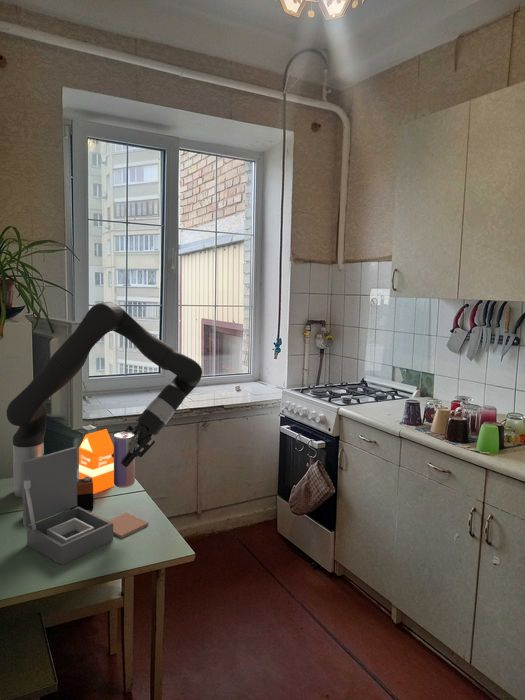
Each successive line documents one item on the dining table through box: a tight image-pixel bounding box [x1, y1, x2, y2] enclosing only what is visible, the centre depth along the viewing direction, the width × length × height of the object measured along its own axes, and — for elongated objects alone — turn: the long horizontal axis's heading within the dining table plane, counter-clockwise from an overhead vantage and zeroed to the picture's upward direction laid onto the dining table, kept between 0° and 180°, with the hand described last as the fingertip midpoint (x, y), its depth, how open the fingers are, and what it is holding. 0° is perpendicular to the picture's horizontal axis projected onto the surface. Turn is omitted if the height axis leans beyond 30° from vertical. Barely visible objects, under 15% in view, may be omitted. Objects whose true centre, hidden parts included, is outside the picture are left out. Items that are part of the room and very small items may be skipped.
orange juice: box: [78, 428, 115, 495], centre depth 174 cm, size 8×9×20 cm
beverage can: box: [113, 431, 136, 489], centre depth 146 cm, size 6×6×15 cm
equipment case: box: [22, 446, 114, 566], centre depth 138 cm, size 18×16×23 cm
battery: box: [69, 477, 94, 511], centre depth 158 cm, size 4×7×10 cm, turn 111°
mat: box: [107, 512, 149, 539], centre depth 149 cm, size 10×10×1 cm
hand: (118, 461), depth 145 cm, fingers closed on beverage can, 6 cm apart
